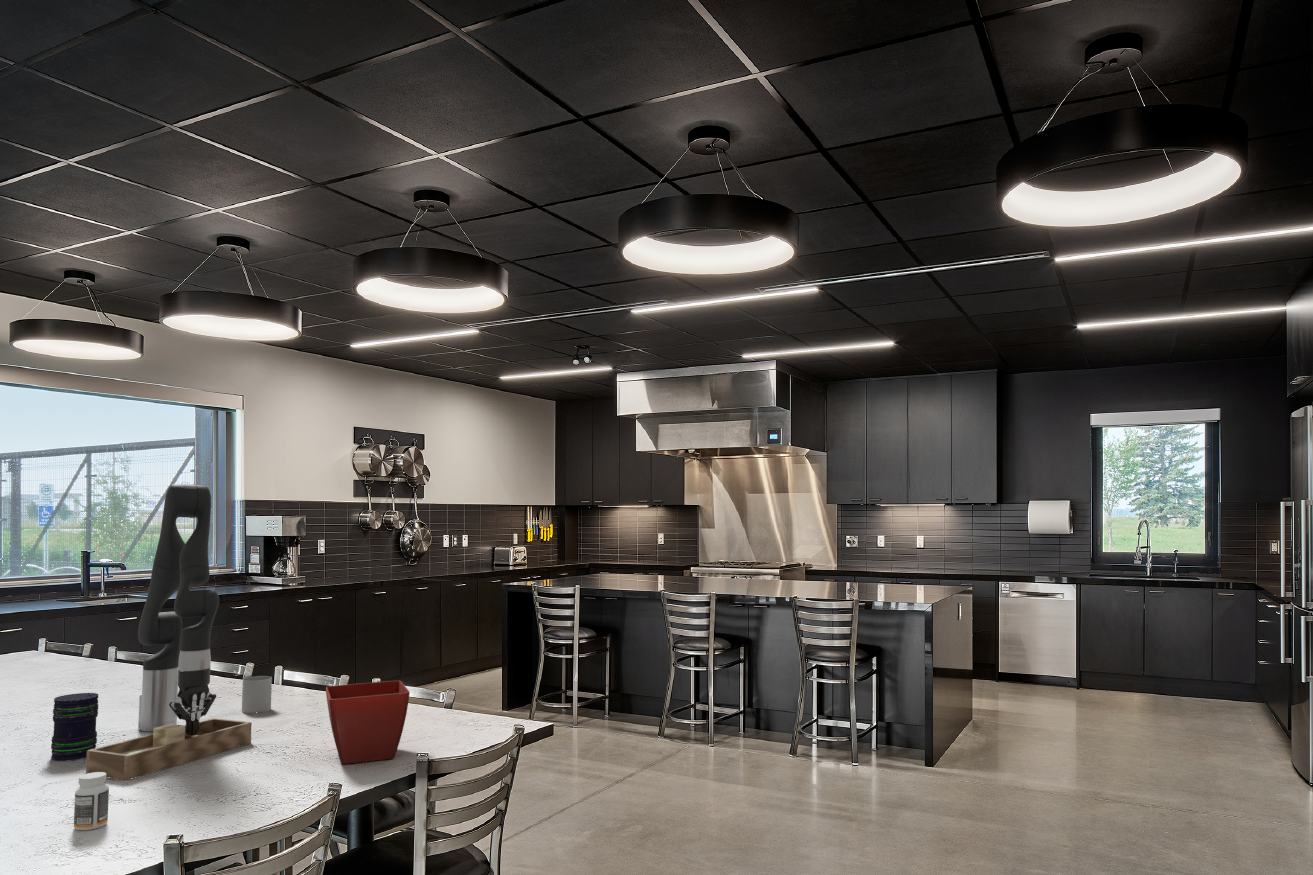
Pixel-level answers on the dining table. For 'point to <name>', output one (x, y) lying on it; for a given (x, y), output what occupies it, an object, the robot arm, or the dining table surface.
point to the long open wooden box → (167, 750)
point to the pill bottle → (91, 802)
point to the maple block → (168, 734)
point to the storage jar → (74, 726)
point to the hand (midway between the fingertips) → (192, 734)
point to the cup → (256, 694)
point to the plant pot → (367, 719)
